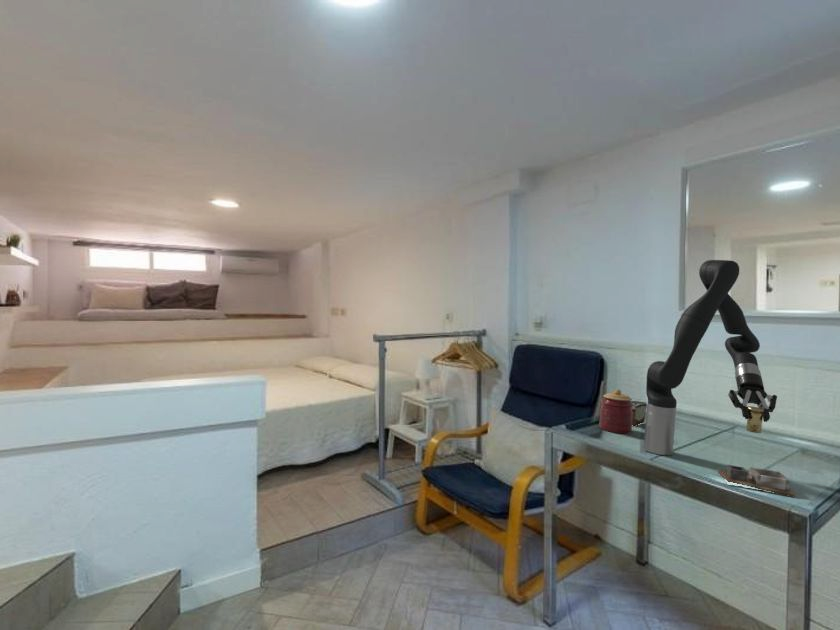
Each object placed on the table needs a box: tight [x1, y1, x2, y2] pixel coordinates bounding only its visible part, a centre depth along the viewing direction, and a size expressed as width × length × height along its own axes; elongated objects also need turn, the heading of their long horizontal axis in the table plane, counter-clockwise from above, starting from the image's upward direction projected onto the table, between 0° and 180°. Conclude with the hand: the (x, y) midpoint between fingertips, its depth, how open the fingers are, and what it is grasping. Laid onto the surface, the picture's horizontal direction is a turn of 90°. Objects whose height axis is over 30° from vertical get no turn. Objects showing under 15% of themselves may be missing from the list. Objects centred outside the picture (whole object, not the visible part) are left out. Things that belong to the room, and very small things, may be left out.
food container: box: [631, 400, 648, 427], centre depth 200 cm, size 12×6×10 cm, turn 130°
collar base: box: [717, 464, 795, 497], centre depth 133 cm, size 16×12×4 cm
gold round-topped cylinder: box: [745, 405, 764, 434], centre depth 147 cm, size 5×5×8 cm
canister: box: [598, 388, 634, 434], centre depth 188 cm, size 13×13×18 cm
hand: (756, 419), depth 145 cm, fingers closed on gold round-topped cylinder, 4 cm apart
